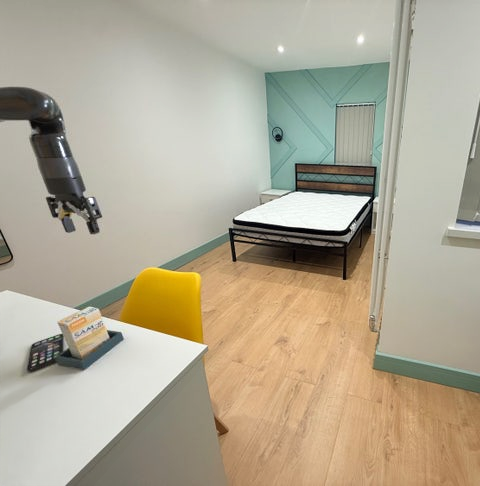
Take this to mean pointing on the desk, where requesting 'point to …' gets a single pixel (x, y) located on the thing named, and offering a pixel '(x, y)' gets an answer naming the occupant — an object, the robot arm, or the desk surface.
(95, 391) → the desk surface
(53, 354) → the smartphone
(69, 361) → the pad dock
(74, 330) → the supplement box
